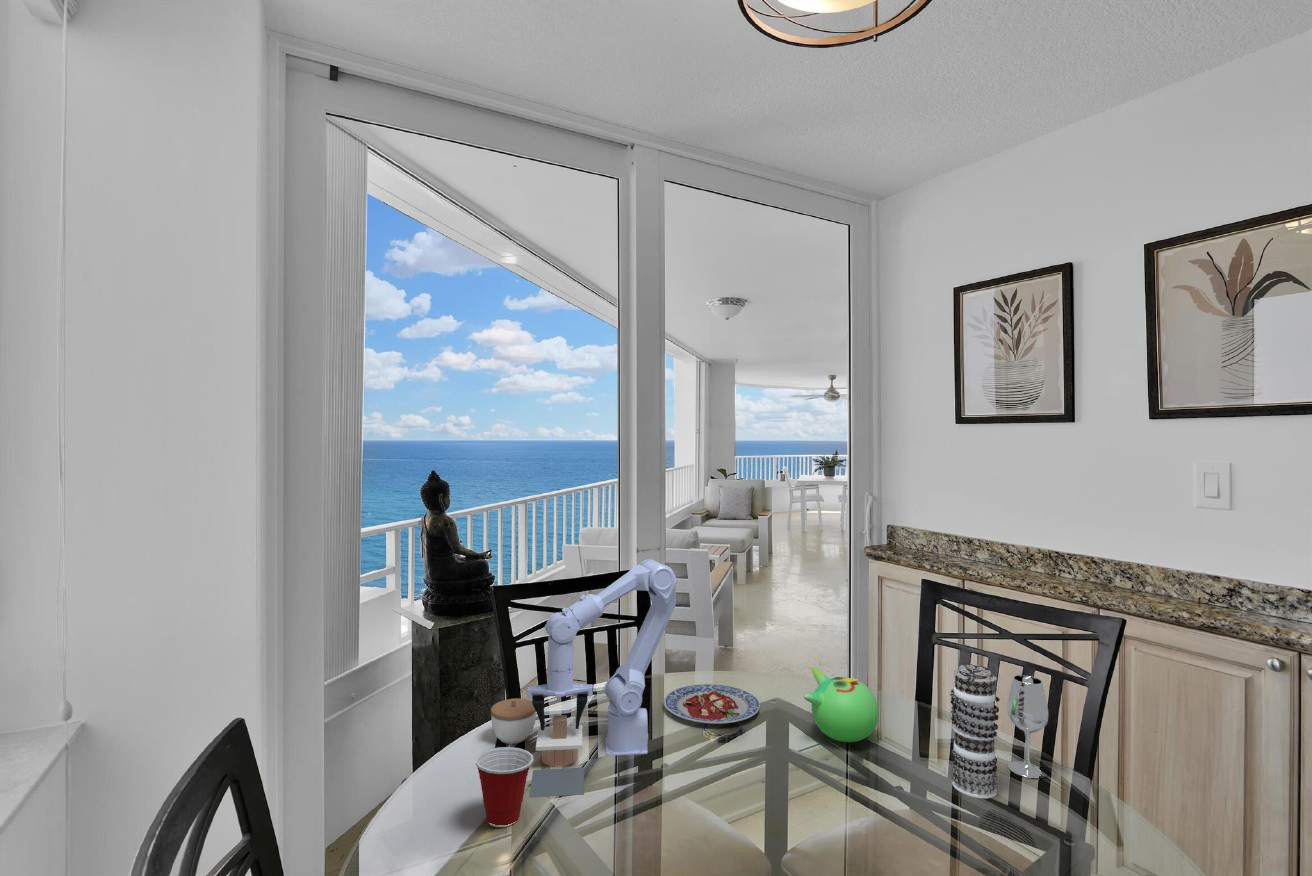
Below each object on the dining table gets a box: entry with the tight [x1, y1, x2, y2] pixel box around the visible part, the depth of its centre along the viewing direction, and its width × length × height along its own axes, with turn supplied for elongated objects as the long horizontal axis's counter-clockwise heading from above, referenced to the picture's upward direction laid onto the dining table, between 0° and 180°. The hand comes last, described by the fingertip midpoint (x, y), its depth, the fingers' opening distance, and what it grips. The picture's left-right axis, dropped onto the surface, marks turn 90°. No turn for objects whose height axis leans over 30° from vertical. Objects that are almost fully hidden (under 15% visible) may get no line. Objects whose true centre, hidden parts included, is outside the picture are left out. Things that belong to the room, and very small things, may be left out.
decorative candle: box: [949, 663, 1001, 799], centre depth 136 cm, size 9×9×25 cm
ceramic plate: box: [663, 683, 761, 725], centre depth 175 cm, size 26×26×3 cm
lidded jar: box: [490, 698, 537, 745], centre depth 157 cm, size 11×11×9 cm
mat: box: [528, 766, 585, 798], centre depth 136 cm, size 11×11×1 cm
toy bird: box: [803, 667, 880, 743], centre depth 159 cm, size 18×17×15 cm
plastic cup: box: [475, 746, 534, 825], centre depth 123 cm, size 11×11×12 cm
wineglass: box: [1007, 674, 1049, 779], centre depth 143 cm, size 8×8×20 cm
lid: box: [535, 714, 583, 752], centre depth 147 cm, size 10×10×5 cm
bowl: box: [541, 749, 579, 768], centre depth 147 cm, size 8×8×4 cm
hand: (560, 727), depth 147 cm, fingers open, 7 cm apart
